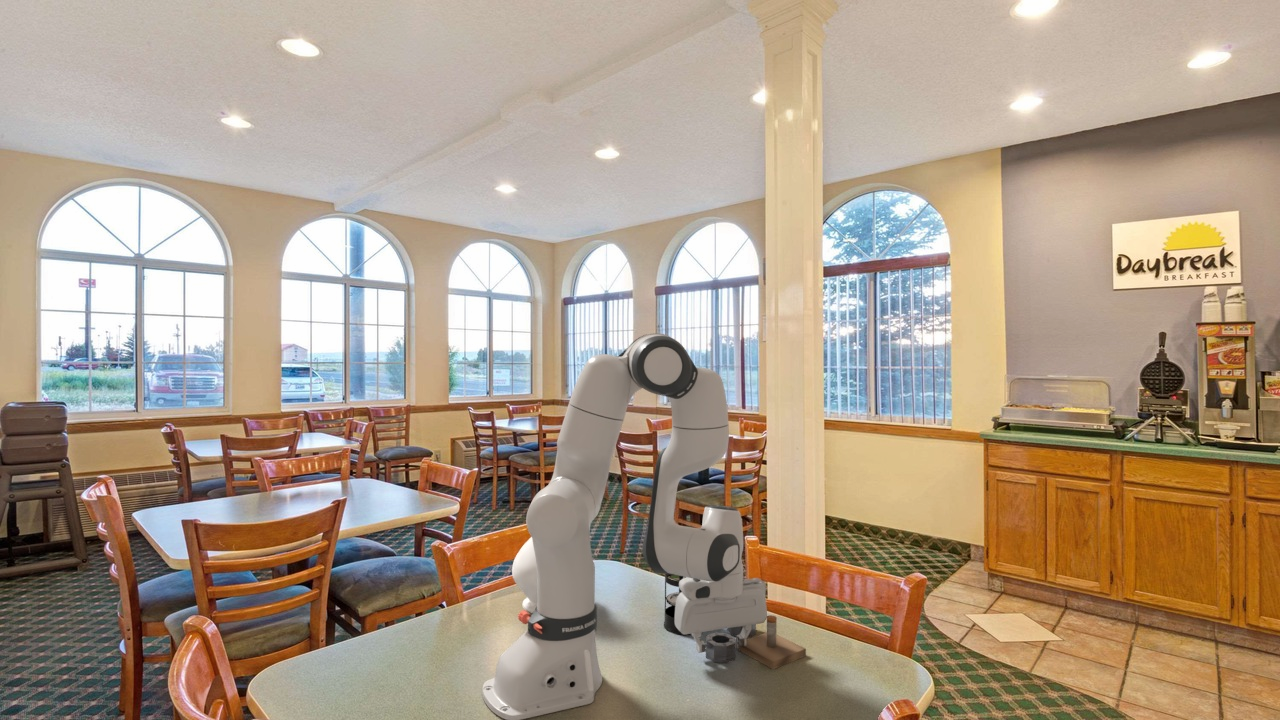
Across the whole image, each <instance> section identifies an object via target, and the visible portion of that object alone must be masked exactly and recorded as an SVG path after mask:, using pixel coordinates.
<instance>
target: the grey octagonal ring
mask: <svg viewBox="0 0 1280 720" xmlns="http://www.w3.org/2000/svg"><path fill="white" fill-rule="evenodd" d="M742 628H743V627H742V626H740V627H733V628H726V630H727V633H728V634H729V635H731V636H733V637H737V635H740V633H741V631H742ZM756 633H757V624H753V625H752V629H751V631H750V633H749V635H748V637H747V638H752V637H754V635H755V634H756Z"/></svg>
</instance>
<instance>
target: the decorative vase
mask: <svg viewBox="0 0 1280 720" xmlns="http://www.w3.org/2000/svg"><path fill="white" fill-rule="evenodd" d="M511 570H512V571H511V573H512V574H511V575H512V579H513V581H514V583H515V584H516V585H517V587H518V588H519V590H520V591H521V592H522V593H523V594H524V595H525V597H526V598H524V600H522V605H521V606H522V608H523V610H525V611H527V612H528V613H531V614H533V612H534V610H535V608H536V606H537V564H536V557H535V552H534V546H533V540H532V536H531V537H530V538H529V539H528V540H527V541H525V542H524V544H523V545H522V547H520V549H519V550H518V552H517V554H516V556H515V557H514V560H513V563H512V568H511Z"/></svg>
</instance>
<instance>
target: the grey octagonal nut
mask: <svg viewBox="0 0 1280 720" xmlns="http://www.w3.org/2000/svg"><path fill="white" fill-rule="evenodd" d="M705 644H706V648H705V649H706V652H705V658H707V660H709V661H711V662H712V663H718V664H728V663H731V662H734V661H736V636H733V635H731V634H730V633H728V632H727V633H725V632H713V633H709V634H707V635H706V639H705Z"/></svg>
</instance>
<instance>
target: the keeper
mask: <svg viewBox="0 0 1280 720" xmlns="http://www.w3.org/2000/svg"><path fill="white" fill-rule="evenodd" d="M777 622H778V621H777V616H775V615H771V614H770V615H767V619H766V632H764V633H761V634H759V635H756V636H752V637H749V638H747V644H746V646H739V645H738V644H737V650H738V651H739V652H741V653H743V654H744V655H746V656H748V657H750V658H752V659H754V660H756V661H757V662H759V663H761V664H763V665H764V666H767V667H768V668H770V669H772V670H774V669H777V668H779V667H781V666H784V665H787V664H789V663H792V662H794V661H796V660H799V659H801V658H803V657H807V649H806V648H805V647H803V646H801V645H799V644H797V643H795V642H793V641H791V640H789V639H787V638H786V637H783V636H781V635H779V634H777Z"/></svg>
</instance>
